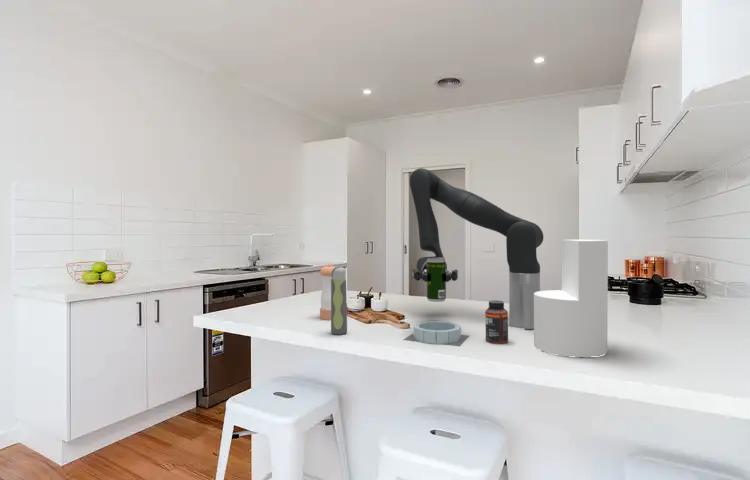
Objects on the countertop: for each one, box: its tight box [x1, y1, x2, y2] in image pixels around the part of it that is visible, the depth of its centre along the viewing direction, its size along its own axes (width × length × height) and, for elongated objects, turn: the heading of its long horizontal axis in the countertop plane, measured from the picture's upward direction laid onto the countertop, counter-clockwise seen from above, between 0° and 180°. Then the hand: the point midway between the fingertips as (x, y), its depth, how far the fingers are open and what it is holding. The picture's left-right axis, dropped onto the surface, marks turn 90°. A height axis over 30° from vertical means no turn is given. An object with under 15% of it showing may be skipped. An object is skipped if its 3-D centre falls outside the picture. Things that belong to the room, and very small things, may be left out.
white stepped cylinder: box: [533, 239, 609, 357], centre depth 108 cm, size 17×17×28 cm
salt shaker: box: [319, 263, 336, 321], centre depth 148 cm, size 7×7×19 cm
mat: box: [402, 333, 470, 347], centre depth 118 cm, size 16×12×1 cm
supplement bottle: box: [484, 299, 509, 345], centre depth 114 cm, size 6×6×11 cm
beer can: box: [426, 256, 447, 303], centre depth 118 cm, size 5×5×12 cm
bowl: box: [412, 320, 462, 345], centre depth 118 cm, size 13×13×3 cm
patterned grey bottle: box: [330, 266, 348, 336], centre depth 126 cm, size 5×5×20 cm
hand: (436, 278), depth 116 cm, fingers closed on beer can, 5 cm apart
